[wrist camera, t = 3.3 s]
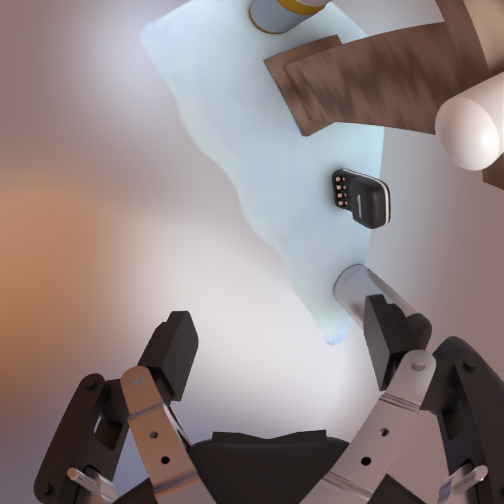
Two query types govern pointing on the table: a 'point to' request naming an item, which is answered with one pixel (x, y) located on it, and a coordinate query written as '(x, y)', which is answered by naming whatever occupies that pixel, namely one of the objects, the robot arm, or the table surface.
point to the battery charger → (362, 197)
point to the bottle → (283, 13)
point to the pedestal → (395, 73)
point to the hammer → (473, 125)
